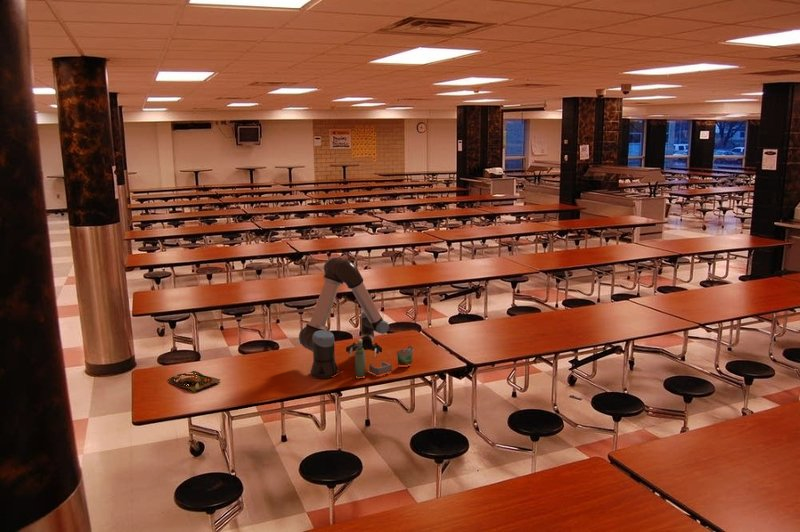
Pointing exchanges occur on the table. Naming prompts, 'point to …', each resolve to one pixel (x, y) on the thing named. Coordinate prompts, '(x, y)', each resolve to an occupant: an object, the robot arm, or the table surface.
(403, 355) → the food container
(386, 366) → the bottle rest
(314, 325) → the robot arm
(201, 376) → the prepared meal
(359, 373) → the bottle
